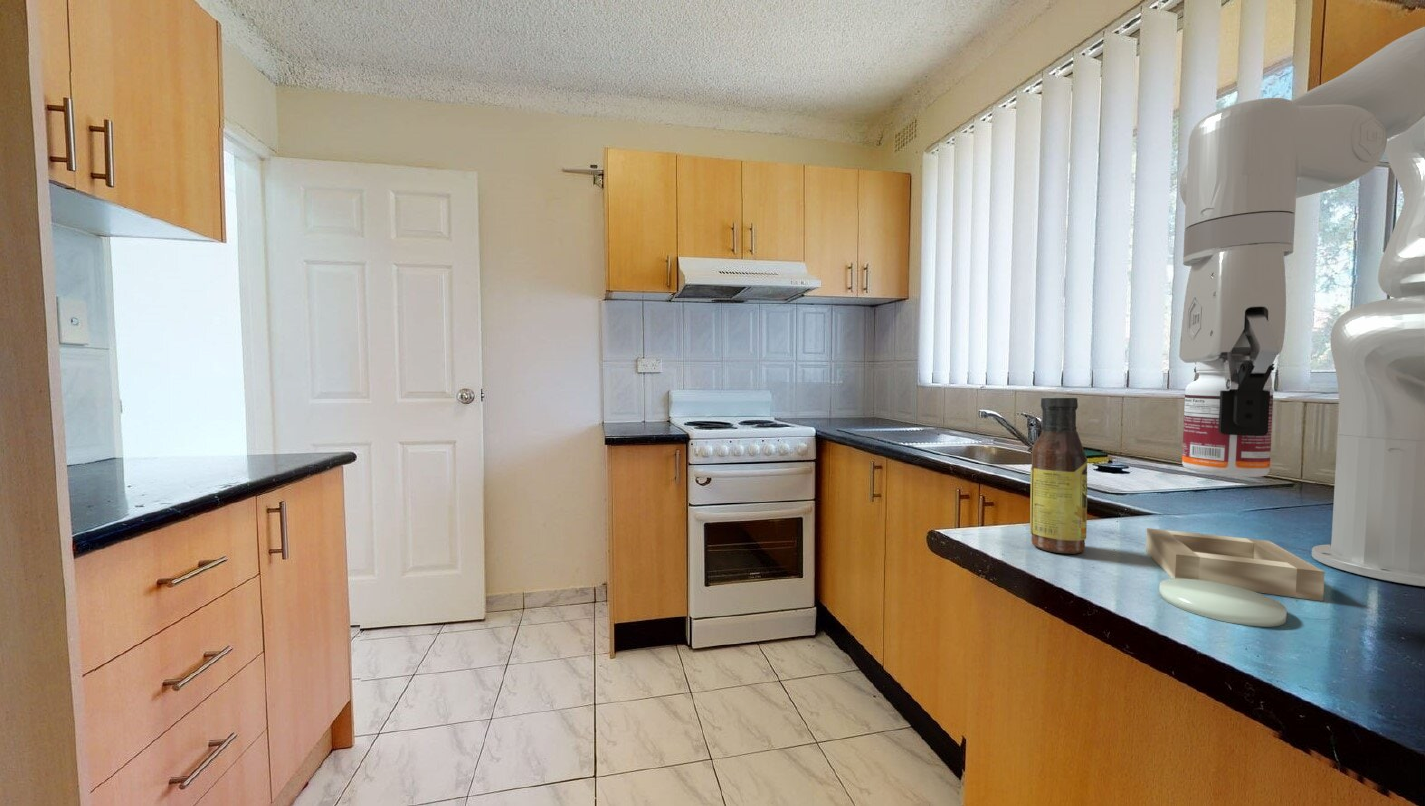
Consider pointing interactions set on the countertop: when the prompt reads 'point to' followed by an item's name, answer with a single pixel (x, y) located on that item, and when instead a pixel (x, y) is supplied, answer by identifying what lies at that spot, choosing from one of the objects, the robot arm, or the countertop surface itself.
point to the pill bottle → (1206, 442)
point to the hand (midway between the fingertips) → (1226, 429)
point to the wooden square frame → (1235, 563)
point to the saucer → (1223, 602)
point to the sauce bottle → (1058, 480)
